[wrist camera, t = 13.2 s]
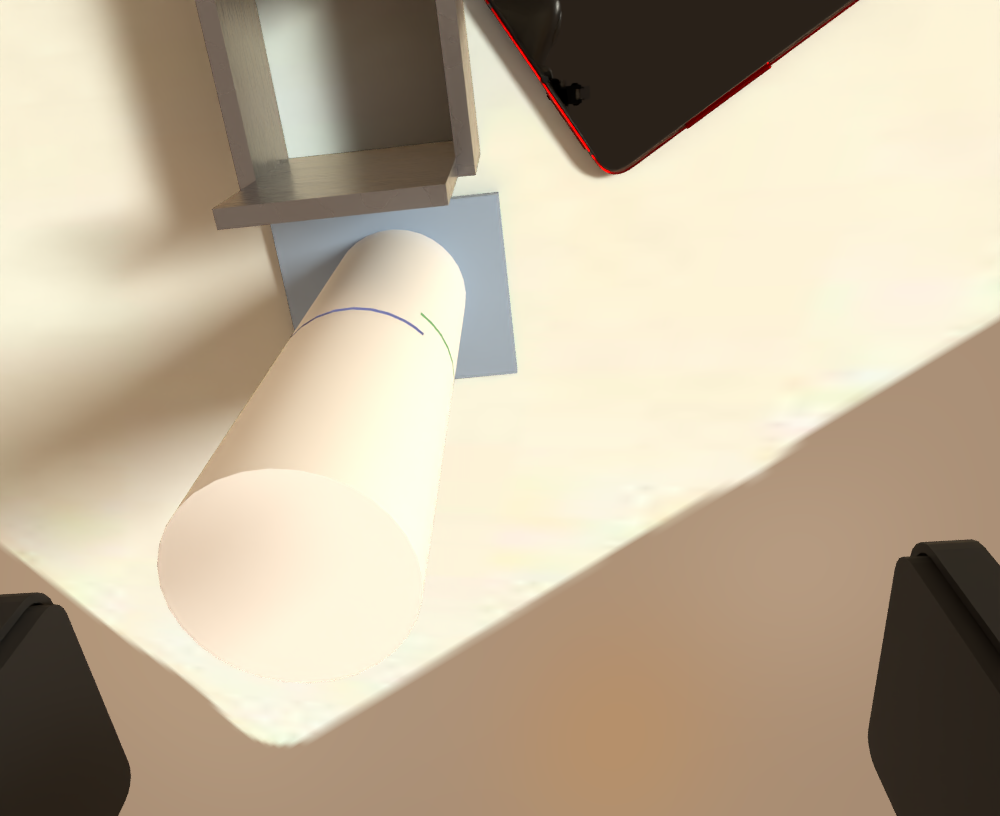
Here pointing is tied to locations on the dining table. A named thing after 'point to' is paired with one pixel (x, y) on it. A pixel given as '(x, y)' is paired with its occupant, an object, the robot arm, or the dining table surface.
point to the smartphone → (651, 61)
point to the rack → (332, 177)
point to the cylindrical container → (327, 477)
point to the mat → (456, 227)
